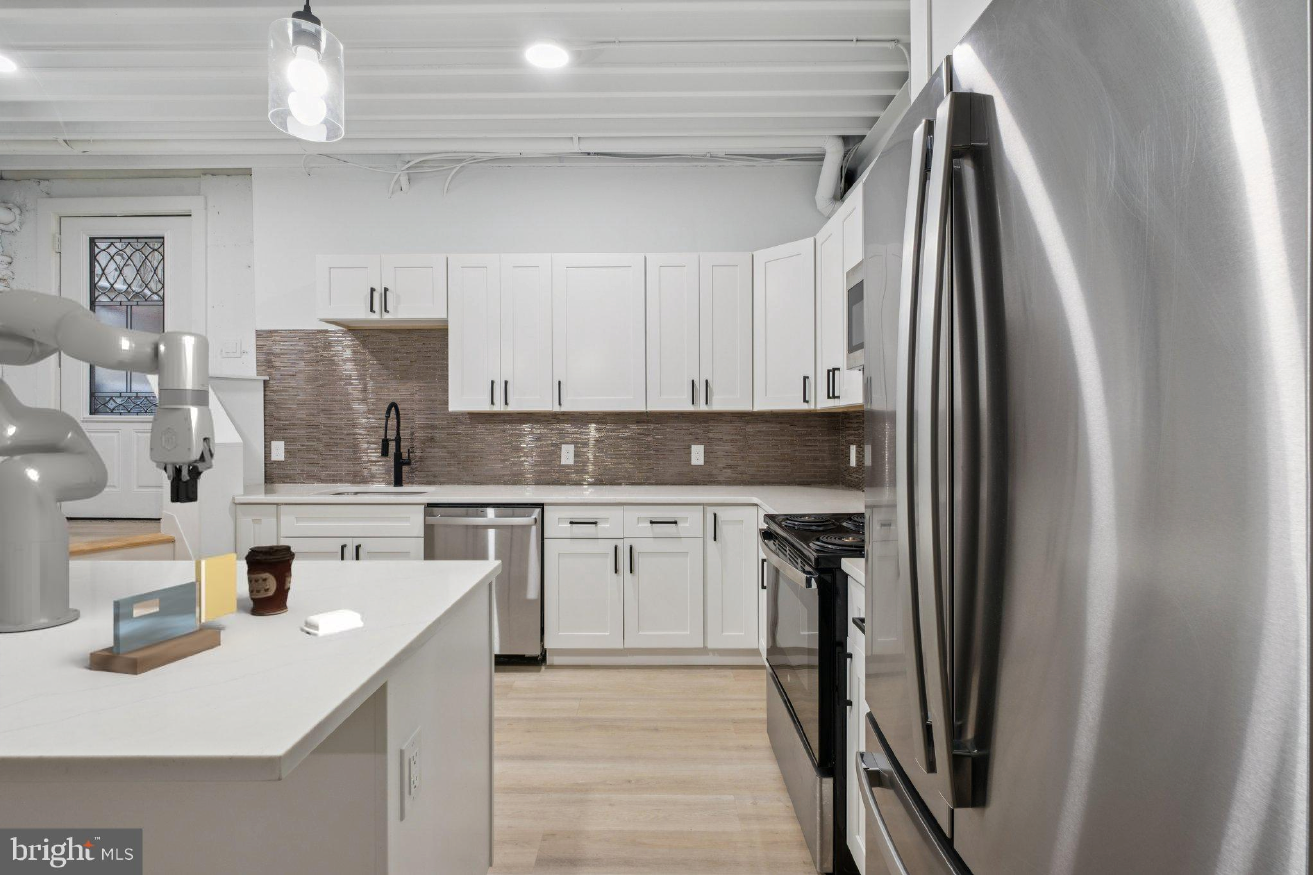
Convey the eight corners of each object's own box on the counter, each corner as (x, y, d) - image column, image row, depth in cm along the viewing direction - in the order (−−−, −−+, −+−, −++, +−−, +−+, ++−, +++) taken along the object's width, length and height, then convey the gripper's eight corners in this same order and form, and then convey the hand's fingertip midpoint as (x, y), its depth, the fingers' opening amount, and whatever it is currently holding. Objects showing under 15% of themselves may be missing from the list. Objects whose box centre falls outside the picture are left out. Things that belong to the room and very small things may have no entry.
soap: (317, 639, 115) (317, 622, 115) (298, 632, 119) (299, 616, 119) (366, 627, 122) (366, 611, 122) (347, 620, 126) (347, 605, 126)
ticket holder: (89, 669, 99) (89, 599, 99) (177, 640, 113) (177, 579, 112) (136, 674, 97) (136, 603, 97) (220, 645, 110) (220, 582, 110)
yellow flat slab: (195, 622, 112) (195, 560, 111) (230, 611, 118) (230, 553, 118) (201, 622, 111) (201, 560, 111) (236, 611, 118) (236, 553, 118)
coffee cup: (270, 619, 126) (270, 551, 126) (233, 616, 127) (233, 549, 127) (303, 607, 134) (303, 544, 134) (268, 605, 136) (268, 542, 136)
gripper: (129, 400, 118) (129, 503, 118) (199, 399, 114) (199, 505, 114) (169, 402, 125) (169, 499, 125) (236, 401, 121) (236, 501, 121)
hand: (184, 501), depth 120 cm, fingers closed
